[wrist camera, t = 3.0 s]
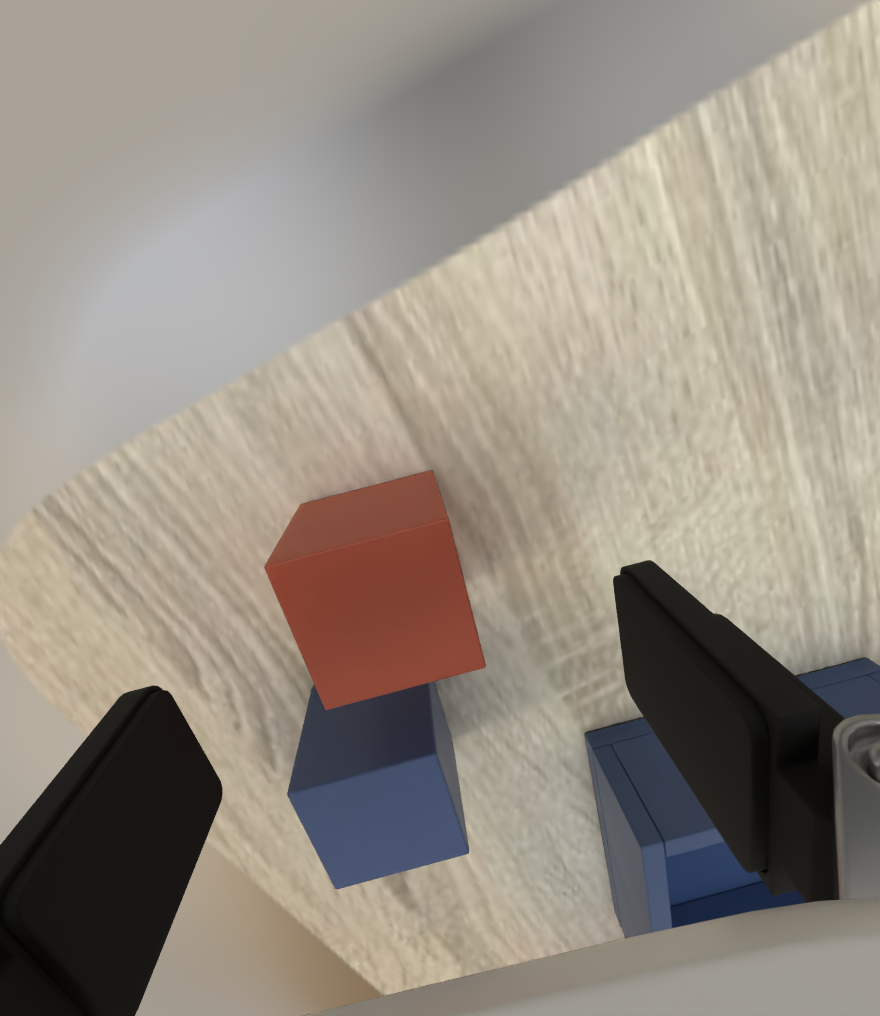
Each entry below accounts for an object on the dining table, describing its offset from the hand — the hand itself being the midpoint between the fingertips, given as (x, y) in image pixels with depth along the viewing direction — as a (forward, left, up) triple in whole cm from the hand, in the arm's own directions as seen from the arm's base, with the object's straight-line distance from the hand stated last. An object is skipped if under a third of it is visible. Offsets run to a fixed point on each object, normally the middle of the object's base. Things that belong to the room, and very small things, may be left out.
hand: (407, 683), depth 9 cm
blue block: (-3, -7, -7) cm, 10 cm away
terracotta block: (-1, 0, -7) cm, 7 cm away
